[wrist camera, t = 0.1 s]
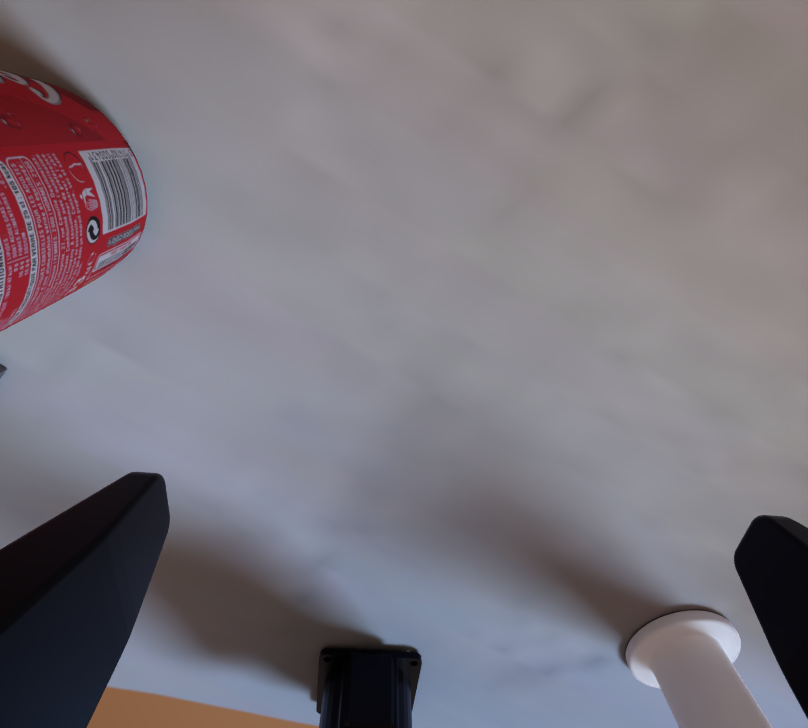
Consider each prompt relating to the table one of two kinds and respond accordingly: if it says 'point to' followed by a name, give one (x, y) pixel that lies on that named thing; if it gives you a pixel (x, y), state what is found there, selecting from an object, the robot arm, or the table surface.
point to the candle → (695, 670)
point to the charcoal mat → (2, 370)
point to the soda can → (60, 196)
